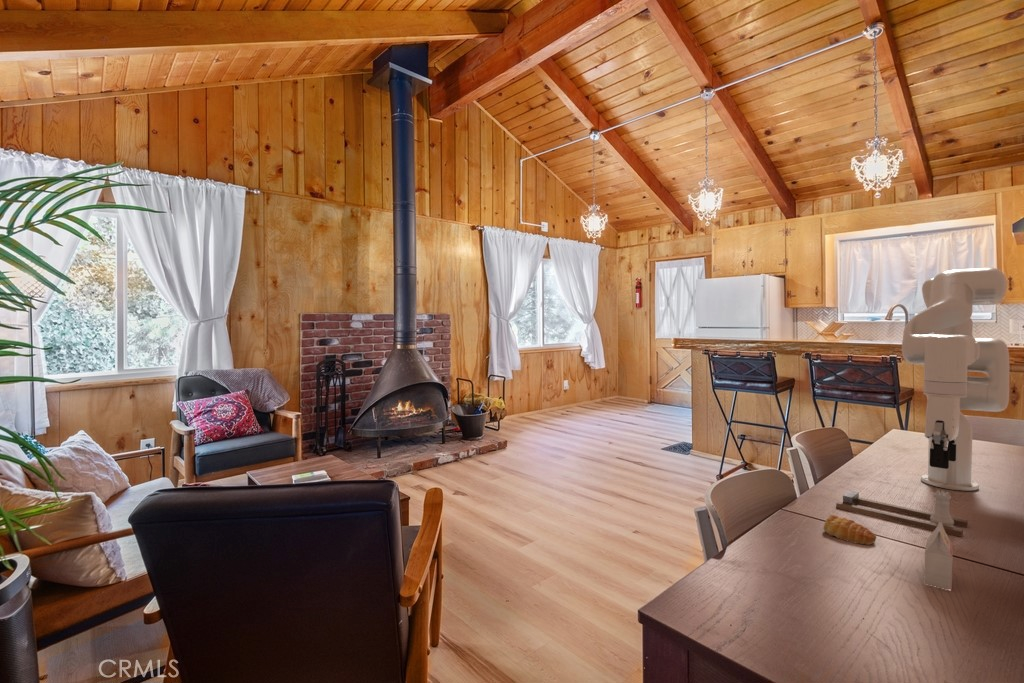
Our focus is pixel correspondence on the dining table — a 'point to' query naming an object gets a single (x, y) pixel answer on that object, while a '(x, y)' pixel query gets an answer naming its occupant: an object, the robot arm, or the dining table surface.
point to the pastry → (848, 530)
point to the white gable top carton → (938, 559)
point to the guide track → (901, 518)
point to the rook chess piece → (942, 509)
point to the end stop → (851, 498)
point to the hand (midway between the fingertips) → (943, 463)
